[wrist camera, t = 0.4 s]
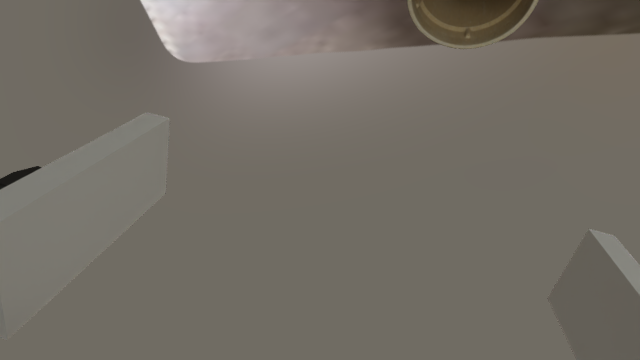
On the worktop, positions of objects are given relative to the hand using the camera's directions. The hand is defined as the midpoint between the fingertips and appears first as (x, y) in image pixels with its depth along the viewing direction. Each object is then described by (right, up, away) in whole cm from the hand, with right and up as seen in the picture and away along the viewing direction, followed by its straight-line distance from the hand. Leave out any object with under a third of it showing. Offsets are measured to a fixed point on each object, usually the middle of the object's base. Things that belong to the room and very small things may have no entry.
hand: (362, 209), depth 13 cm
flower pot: (+12, +21, +23) cm, 34 cm away
